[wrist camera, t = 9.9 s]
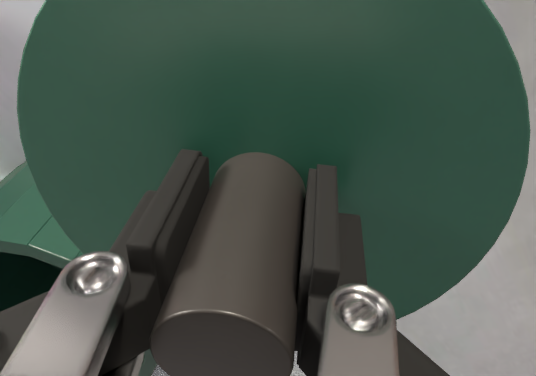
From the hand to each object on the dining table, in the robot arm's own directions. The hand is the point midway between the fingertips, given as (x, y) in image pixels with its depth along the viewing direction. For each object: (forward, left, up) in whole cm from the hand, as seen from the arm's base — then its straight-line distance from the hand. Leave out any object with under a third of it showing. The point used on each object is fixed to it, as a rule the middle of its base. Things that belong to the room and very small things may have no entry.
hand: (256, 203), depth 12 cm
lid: (0, 0, -1) cm, 1 cm away
